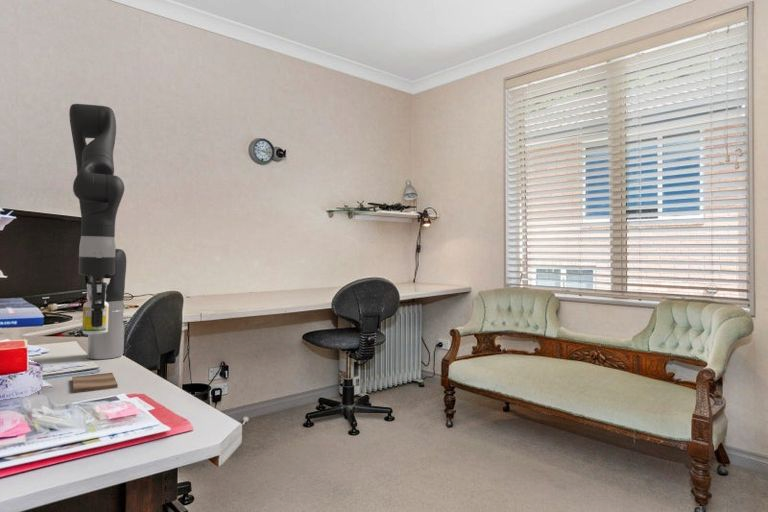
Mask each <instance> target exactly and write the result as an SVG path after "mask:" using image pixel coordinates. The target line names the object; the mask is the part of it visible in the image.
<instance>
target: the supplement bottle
mask: <svg viewBox="0 0 768 512" xmlns="http://www.w3.org/2000/svg"><path fill="white" fill-rule="evenodd" d="M86 299H87V301H86V302H84V303H83V306H82V331H81V332H82V333H83V335H88V334H103V333H107V332H108V315H109V304H108V303H107V302H105V304H104V305H105V307H104V309H103V318H102V326H101V327H92V326H91V315H92V311H91V302H89V293H88V294H87V293H86ZM95 304H101V302H95Z"/></svg>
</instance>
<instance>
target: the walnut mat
mask: <svg viewBox="0 0 768 512" xmlns="http://www.w3.org/2000/svg"><path fill="white" fill-rule="evenodd" d="M71 379H72V388H73V389H72V390H73V393H75V394H76V393H82V392H92V391H93V392H94V391H100V390H108V389H117V388H118V382H117V380H116V377H115V376H114V374H113V372H104V373H97V374H88V375H87V374H86V375H78V376H77V375H75V376H72V378H71Z"/></svg>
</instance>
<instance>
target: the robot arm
mask: <svg viewBox="0 0 768 512" xmlns="http://www.w3.org/2000/svg"><path fill="white" fill-rule="evenodd" d="M68 116H69V125H70V131H71V137H72V138H71V139H72V143H73V147H74V154H75V155H74V156H75V164H76V176H75V178H74V180H73V186H72V192H73V194H74V196H75V197H76V198H77V199H78V202H79V210H80V216H81V222H80V225H81V226H80V228H81V229H80V232H81V233H80V242H79V250H78V253H79V254H78V274H79V275H81V276H86V277H88V278H89V279H90V280H89V281H88V282H86V290H87V293H86V295H87V294H88V293H89V302H91V311H92V315H91V326H92V327H101V326H102V318H103V309H104V307H105V305H104V304H105V302H107V303H108V304H109V315H108V332H107V333H103V334H87V358H88V357H89V358H90V360H106V359H114V358H115V359H116V358H120V357H122V356H123V354H124V352H125V351H124V350H125V324H124V303H125V299H124V297H125V289H126V287H125V286H126V276H127V275H126V272H127V255H126V253H125V251H124V250H123V249H120V248H116V241H115V239H116V238H115V236H116V233H115V231H116V218H117V214H118V210H119V206H120V204H121V201H122V198H123V196H124V193H125V184H124V181H123V180H122V178H121V177H120V176H118V175H114V174H115V166H114V150H115V144H116V136H117V120H116V115H115V113H114V110H113V108H111V107H109V106H104V105H100V104H99V105H97V104H85V103H73V104H71V105H70V107H69V115H68ZM86 139H92V140H91V141H90V142H88V143H87V141H86ZM104 279H109V282H108V284H107V282H104ZM95 302H101V304H95ZM89 358H88V359H89Z"/></svg>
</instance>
